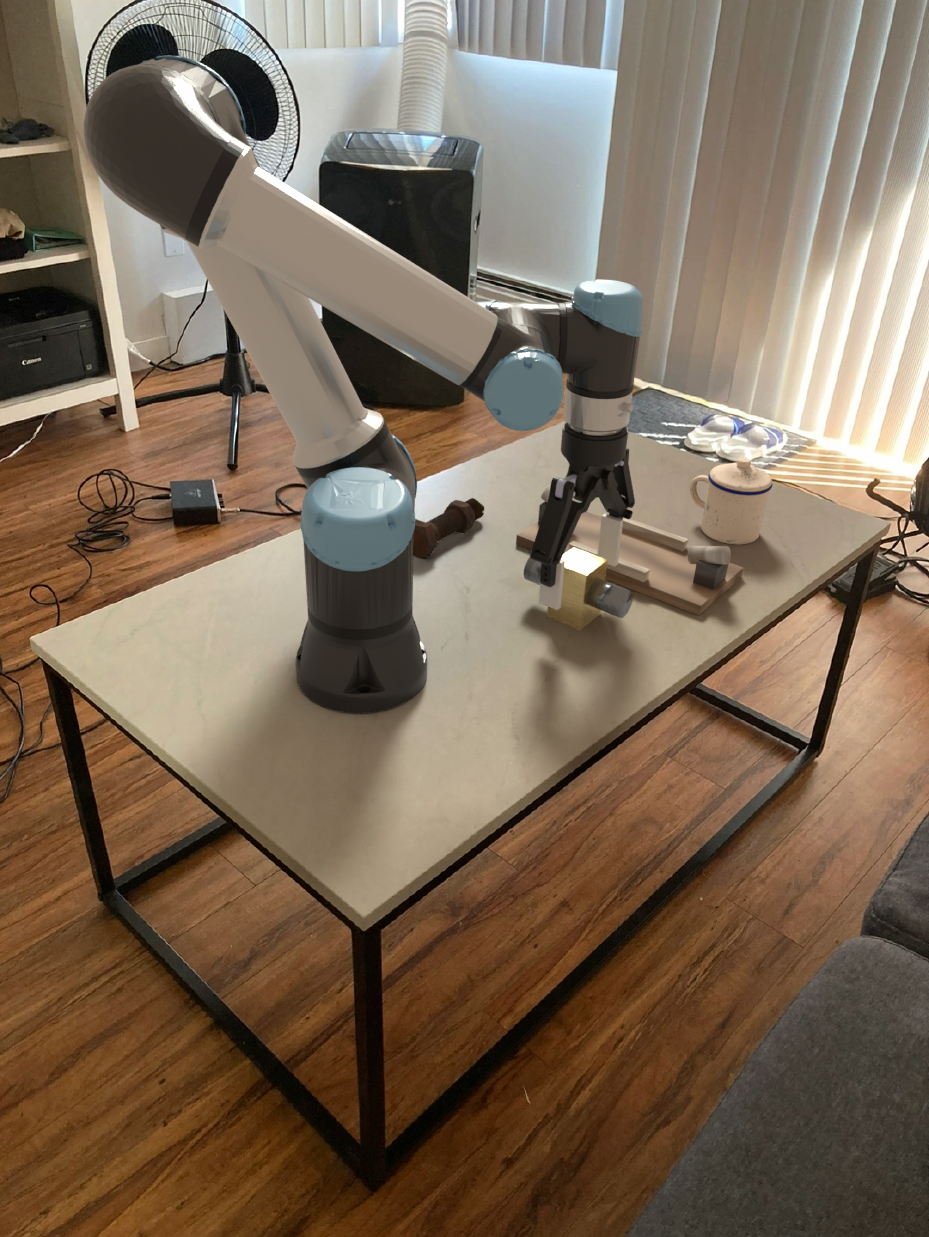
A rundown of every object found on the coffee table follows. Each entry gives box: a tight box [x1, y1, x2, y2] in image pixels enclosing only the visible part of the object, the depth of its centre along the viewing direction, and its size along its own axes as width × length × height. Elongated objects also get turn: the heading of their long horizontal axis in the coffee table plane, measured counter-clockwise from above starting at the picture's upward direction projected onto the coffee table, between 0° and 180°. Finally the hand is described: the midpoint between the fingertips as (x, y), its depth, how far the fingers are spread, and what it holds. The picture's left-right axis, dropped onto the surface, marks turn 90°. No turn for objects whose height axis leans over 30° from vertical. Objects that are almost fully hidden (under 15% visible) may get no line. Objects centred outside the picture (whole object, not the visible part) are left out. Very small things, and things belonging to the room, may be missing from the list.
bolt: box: [413, 497, 485, 560], centre depth 142 cm, size 6×5×15 cm
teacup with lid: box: [689, 457, 773, 545], centre depth 145 cm, size 12×9×12 cm
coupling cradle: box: [515, 484, 744, 616], centre depth 137 cm, size 13×29×7 cm, turn 52°
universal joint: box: [523, 547, 634, 631], centre depth 125 cm, size 5×14×8 cm, turn 52°
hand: (579, 583), depth 124 cm, fingers open, 13 cm apart
